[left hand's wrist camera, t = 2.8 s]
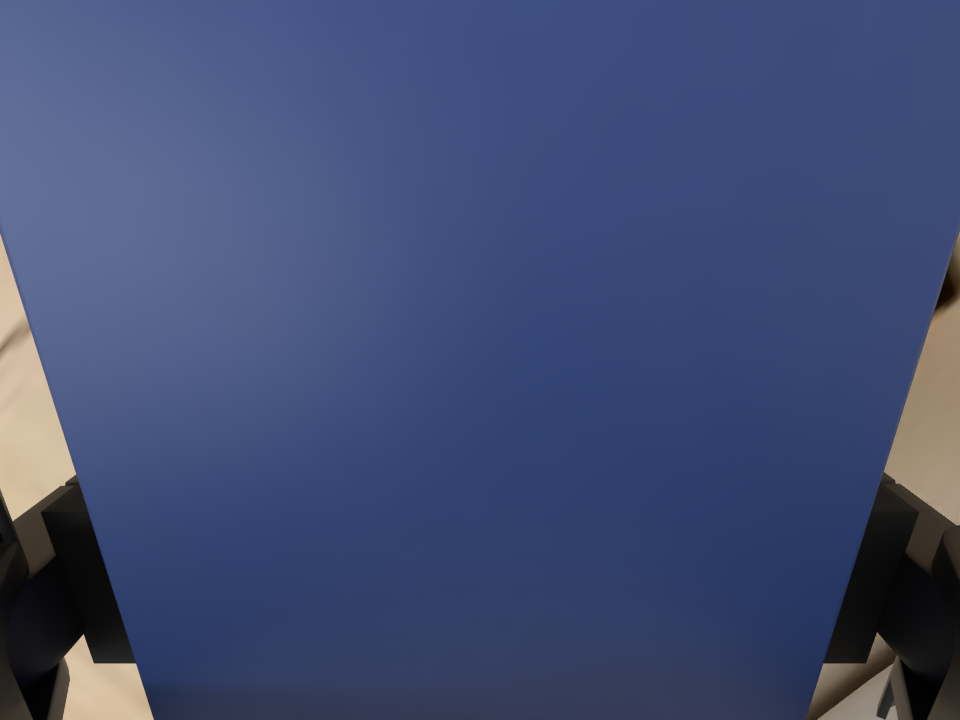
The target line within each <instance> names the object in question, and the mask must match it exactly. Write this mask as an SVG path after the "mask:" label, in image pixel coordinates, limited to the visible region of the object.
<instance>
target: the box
mask: <svg viewBox="0 0 960 720" xmlns="http://www.w3.org/2000/svg"><path fill="white" fill-rule="evenodd" d="M959 231H960V0H0V234H1V237H2V240H3V243H4V246H5V250H6V253H7V256H8V259H9V262H10V265H11V269H12V272H13V275H14V278H15V281H16V284H17V288H18V291H19V294H20V297H21V300H22V303H23V307H24V310H25V313H26V316H27V319H28V322H29V326H30V329H31V332H32V335H33V338H34V341H35V345H36V348H37V351H38V354H39V357H40V360H41V364H42V367H43V370H44V373H45V376H46V379H47V383H48V386H49V389H50V392H51V395H52V398H53V402H54V405H55V408H56V411H57V414H58V417H59V421H60V424H61V427H62V430H63V433H64V436H65V440H66V443H67V446H68V449H69V452H70V455H71V459H72V462H73V465H74V468H75V471H76V474H77V478H78V481H79V484H80V487H81V490H82V493H83V497H84V500H85V503H86V506H87V509H88V512H89V516H90V519H91V522H92V525H93V528H94V531H95V535H96V538H97V541H98V544H99V547H100V550H101V554H102V557H103V560H104V563H105V566H106V569H107V573H108V576H109V579H110V582H111V585H112V588H113V592H114V595H115V598H116V601H117V604H118V607H119V611H120V614H121V617H122V620H123V623H124V626H125V630H126V633H127V636H128V639H129V642H130V645H131V649H132V652H133V655H134V658H135V661H136V664H137V668H138V671H139V674H140V677H141V680H142V683H143V687H144V690H145V693H146V696H147V699H148V702H149V706H150V709H151V712H152V715H153V718H154V720H805V719H806V716H807V713H808V710H809V707H810V704H811V700H812V697H813V694H814V691H815V688H816V684H817V681H818V678H819V675H820V672H821V669H822V665H823V662H824V659H825V656H826V653H827V650H828V646H829V643H830V640H831V637H832V634H833V631H834V627H835V624H836V621H837V618H838V615H839V611H840V608H841V605H842V602H843V599H844V596H845V592H846V589H847V586H848V583H849V580H850V577H851V573H852V570H853V567H854V564H855V561H856V558H857V554H858V551H859V548H860V545H861V542H862V539H863V535H864V532H865V529H866V526H867V523H868V519H869V516H870V513H871V510H872V507H873V504H874V500H875V497H876V494H877V491H878V488H879V485H880V481H881V478H882V475H883V472H884V469H885V466H886V462H887V459H888V456H889V453H890V450H891V446H892V443H893V440H894V437H895V434H896V431H897V427H898V424H899V421H900V418H901V415H902V412H903V408H904V405H905V402H906V399H907V396H908V393H909V389H910V386H911V383H912V380H913V377H914V373H915V370H916V367H917V364H918V361H919V358H920V354H921V351H922V348H923V345H924V342H925V339H926V335H927V332H928V329H929V326H930V323H931V320H932V316H933V313H934V310H935V307H936V304H937V301H938V297H939V294H940V291H941V288H942V285H943V281H944V278H945V275H946V272H947V269H948V266H949V262H950V259H951V256H952V253H953V250H954V247H955V243H956V240H957V237H958V234H959Z"/></svg>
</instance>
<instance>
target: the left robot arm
mask: <svg viewBox="0 0 960 720" xmlns="http://www.w3.org/2000/svg"><path fill="white" fill-rule="evenodd" d="M877 632H878V633H879V635H880V636H881V637H882V638H883V639H884V640H885V641H886V643H887V644H888V645H889V646H890V647H891V648H892V649H893V651H894V652H895V653H896V654H897V656H896V658H895V661H894V663H893V666H892V669H891V671H890V674H889V677H888V679H887V682H886V684H885V687H884V690H883V692H882V695H881V698H880V700H879V703H878V707H877V714H876V716H877V717H879V718H882V719H884V720H886V717H887V715H888V712H889V710H890V707H893V706H896V712H897V717H898V720H960V526H957V525H955V524H954V523H952V522H951V521H950V520H948V519H947V518H946V517H944V516H943V515H942V514H940V513H939V512H937V511H936V510H935V509H933V508H932V507H931V506H929V505H928V504H927V503H925V502H924V501H922V500H921V499H920V498H918V497H917V496H916V495H914V494H913V493H912V492H910V491H909V490H907V489H906V488H905V487H903V486H902V485H901V484H896V483H895V480H894V479H893V478H891V477H890V476H888V475H887V474H886V473H884V472H883V475H882V478H881V481H880V485H879V488H878V491H877V494H876V497H875V500H874V504H873V507H872V510H871V513H870V516H869V519H868V523H867V526H866V529H865V532H864V535H863V539H862V542H861V545H860V548H859V551H858V554H857V558H856V561H855V564H854V567H853V570H852V573H851V577H850V580H849V583H848V586H847V589H846V592H845V596H844V599H843V602H842V605H841V608H840V611H839V615H838V618H837V621H836V624H835V627H834V631H833V634H832V637H831V640H830V643H829V646H828V650H827V653H826V656H825V659H824V662H823V663H866V662H867V659H868V656H869V653H870V650H871V648H872V645H873V642H874V639H875V636H876V633H877ZM83 634H84V636H85V639H86V642H87V645H88V648H89V650H90V653H91V656H92V659H93V662H94V663H136V661H135V658H134V655H133V652H132V649H131V645H130V642H129V639H128V636H127V633H126V630H125V626H124V623H123V620H122V617H121V614H120V611H119V607H118V604H117V601H116V598H115V595H114V592H113V588H112V585H111V582H110V579H109V576H108V573H107V569H106V566H105V563H104V560H103V557H102V554H101V550H100V547H99V544H98V541H97V538H96V535H95V531H94V528H93V525H92V522H91V519H90V516H89V512H88V509H87V506H86V503H85V500H84V497H83V493H82V490H81V487H80V484H79V481H78V478H77V474H76V475H75V476H74V477H72V478H71V479H70V480H68V481H67V482H66V484H65V486H60V487H59V488H57V489H56V490H55V491H53V492H52V493H51V494H49V495H48V496H47V497H45V498H44V499H43V500H41V501H40V502H38V503H37V504H36V505H34V506H33V507H32V508H30V509H29V510H28V511H26V512H25V513H24V514H22V515H21V516H20V517H18V518H17V519H15V520H14V521H13V522H12V519H11V516H10V514H9V511H8V508H7V506H6V503H5V501H4V498H3V495H2V493H1V490H0V720H62V719H63V713H64V708H65V703H66V697H67V692H68V687H69V682H70V677H69V669H68V666H67V663H66V661H65V658H64V656H65V655H66V654H67V653H68V651H69V650H70V649H71V648H72V647H73V646H74V644H75V643H76V642H77V641H78V640H79V639H80V638H81V636H82V635H83Z"/></svg>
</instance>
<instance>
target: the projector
mask: <svg viewBox="0 0 960 720" xmlns="http://www.w3.org/2000/svg"><path fill="white" fill-rule="evenodd" d="M892 666H893V664H891V665H890V666H889V667H887V668H886V669H884V670H883V671H881V672H880V673H879V674H877V675H876V676H874V677H873V678H871V679H870V680H869V681H867V682H866V683H865V684H863V685H862V686H861V687H859V688H858V689H857V690H855V691H854V692H853V693H852V694H850V695H849V696H848V697H846V698H845V699H844V700H842V701H841V702H840V703H838V704H837V705H836V706H834V707H833V708H832V709H830V710H829V711H828V712H826V713H825V714H824V715H823V716H821V717H820V718H819V719H817V720H884V719H882V718H879V717H877V716H876V714H877V707H878V703H879V700H880V698H881V695H882V692H883V690H884V687H885V684H886V682H887V679H888V677H889V674H890V671H891V669H892ZM886 720H898V717H897V712H896V706H893V707H890V710H889V712H888V715H887V717H886Z"/></svg>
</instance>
